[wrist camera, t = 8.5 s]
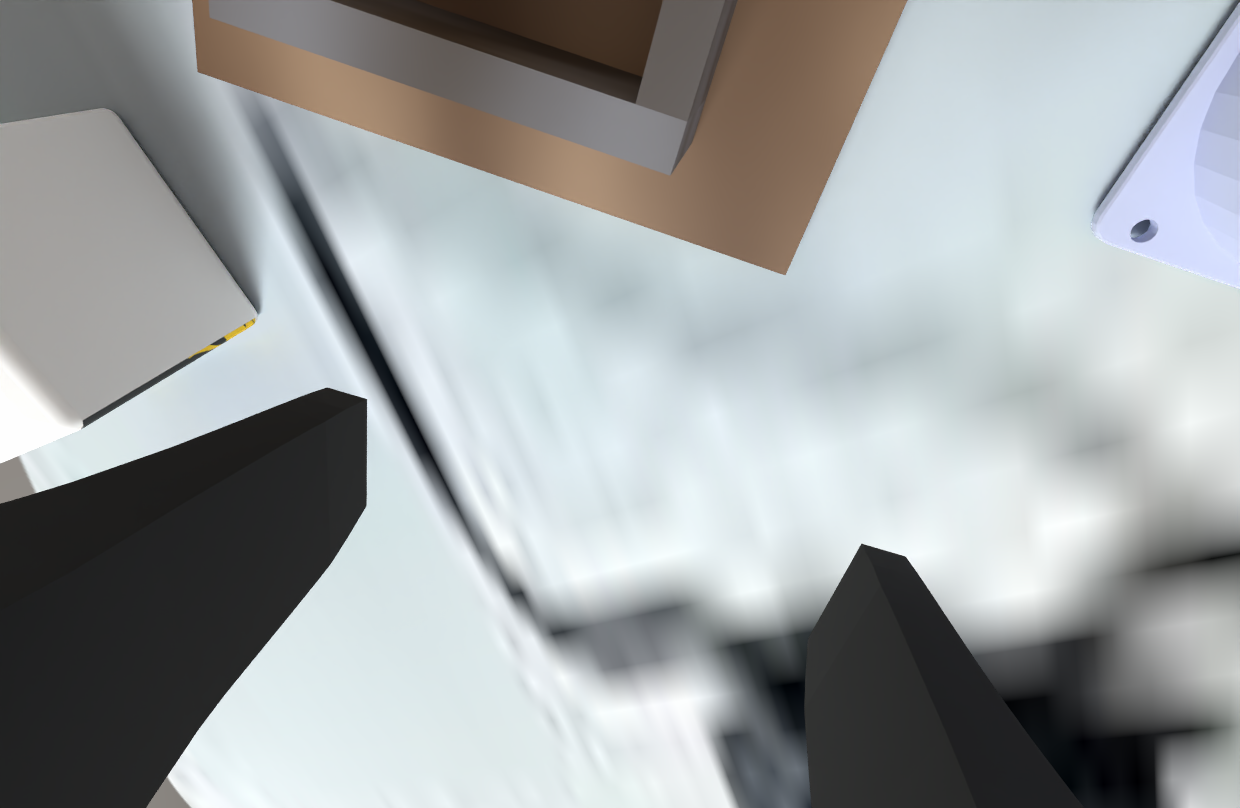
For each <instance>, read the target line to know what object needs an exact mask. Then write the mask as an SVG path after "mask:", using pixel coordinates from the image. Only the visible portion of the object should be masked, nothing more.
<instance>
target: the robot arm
mask: <svg viewBox="0 0 1240 808" xmlns="http://www.w3.org/2000/svg"><path fill="white" fill-rule="evenodd" d="M1145 219H1147V220H1150V226H1149V228H1148V230H1147V231H1146V232H1145V233H1144V234H1143V235H1141V236H1138V237H1136V238H1133V237H1131V235H1130V232H1131V230H1132V228H1133V227H1134V226H1135V225H1136V224H1137V223H1138V222H1140V221H1143V220H1145ZM1091 229H1092V231H1093V233H1094V235H1095V236H1096V237H1097V238H1099V239H1100V240H1102V241H1103V242H1105V243H1106V244H1109V245H1112V246H1115V247H1118V248H1121V249H1124V250H1126V251H1129V252H1132V253H1135V254H1138V255H1141V256H1144V257H1147V258H1150V259H1153V260H1156V261H1159V262H1162V263H1165V264H1168V265H1171V266H1174V267H1177V268H1180V269H1182V270H1185V271H1188V272H1191V273H1194V274H1197V275H1200V276H1203V277H1206V278H1209V279H1212V280H1215V281H1218V282H1221V283H1224V284H1227V285H1230V286H1233V287H1236V288H1238V289H1240V2H1239V3H1238V5H1237V6H1236V8H1235V9H1234V11H1233V12H1232V14H1231V15H1230V17H1229V18H1228V20H1227V21H1226V22H1225V24H1224V25H1223V27H1222V28H1221V30H1220V31H1219V33H1218V34H1217V36H1216V37H1215V39H1214V40H1213V41H1212V43H1211V44H1210V46H1209V47H1208V49H1207V50H1206V52H1205V53H1204V55H1203V56H1202V57H1201V59H1200V60H1199V62H1198V63H1197V65H1196V66H1195V68H1194V69H1193V71H1192V72H1191V74H1190V75H1189V76H1188V78H1187V79H1186V81H1185V82H1184V84H1183V85H1182V87H1181V88H1180V90H1179V91H1178V92H1177V94H1176V95H1175V97H1174V98H1173V100H1172V101H1171V103H1170V104H1169V106H1168V107H1167V109H1166V110H1165V111H1164V113H1163V114H1162V116H1161V117H1160V119H1159V120H1158V122H1157V123H1156V125H1155V126H1154V127H1153V129H1152V130H1151V132H1150V133H1149V135H1148V136H1147V138H1146V139H1145V141H1144V142H1143V144H1142V145H1141V146H1140V148H1139V149H1138V151H1137V152H1136V154H1135V155H1134V157H1133V158H1132V160H1131V161H1130V163H1129V164H1128V165H1127V167H1126V168H1125V170H1124V171H1123V173H1122V174H1121V176H1120V177H1119V179H1118V180H1117V181H1116V183H1115V184H1114V186H1113V187H1112V189H1111V190H1110V192H1109V193H1108V195H1107V196H1106V198H1105V199H1104V200H1103V202H1102V203H1101V205H1100V206H1099V208H1098V209H1097V211H1096V212H1095V214H1094V216H1093V218H1092V221H1091ZM366 499H367V399H365V398H361V397H358V396H354V395H351V394H347V393H344V392H341V391H337V390H334V389H330V388H324V389H321V390H318V391H315V392H312V393H310V394H307V395H304V396H301V397H299V398H296V399H293V400H291V401H288V402H286V403H283V404H281V405H278V406H276V407H273V408H271V409H268V410H265V411H263V412H260V413H258V414H255V415H253V416H250V417H248V418H245V419H243V420H240V421H238V422H235V423H233V424H230V425H228V426H225V427H222V428H220V429H217V430H215V431H212V432H210V433H207V434H205V435H202V436H199V437H197V438H194V439H192V440H189V441H187V442H184V443H181V444H179V445H176V446H174V447H171V448H168V449H165V450H163V451H160V452H157V453H154V454H151V455H148V456H145V457H143V458H140V459H137V460H134V461H131V462H128V463H125V464H123V465H120V466H117V467H114V468H111V469H108V470H105V471H103V472H100V473H97V474H94V475H91V476H88V477H86V478H83V479H80V480H77V481H74V482H71V483H68V484H64V485H61V486H58V487H55V488H52V489H49V490H45V491H42V492H39V493H35V494H32V495H29V496H26V497H22V498H19V499H15V500H12V501H9V502H5V503H1V504H0V808H146V807H147V805H148V804H149V802H150V801H151V799H152V798H153V796H154V795H155V793H156V792H157V790H158V789H159V787H160V786H161V784H162V783H163V781H164V780H165V778H166V777H167V776H168V774H169V773H170V771H171V770H172V768H173V767H174V765H175V764H176V762H177V761H178V759H179V758H180V756H181V755H182V753H183V752H184V750H185V749H186V747H187V746H188V744H189V743H190V741H191V740H192V738H193V737H194V735H195V734H196V732H197V731H198V730H199V728H200V727H201V725H202V724H203V723H204V721H205V720H206V719H207V717H208V716H209V715H210V713H211V712H212V711H213V710H214V708H215V707H216V706H217V704H218V703H219V702H220V700H221V699H222V698H223V696H224V695H225V694H226V693H227V691H228V690H229V689H230V688H231V686H232V685H233V684H234V683H235V681H236V680H237V679H238V678H239V677H240V675H241V674H242V673H243V672H244V670H245V669H246V668H247V667H248V666H249V664H250V663H251V662H252V661H253V659H254V658H255V657H256V656H257V655H258V653H259V652H260V651H261V650H262V648H263V647H264V646H265V645H266V644H267V642H268V641H269V640H270V639H271V637H272V636H273V635H274V634H275V633H276V631H277V630H278V629H279V628H280V626H281V625H282V624H283V623H284V622H285V620H286V619H287V618H288V617H289V615H290V614H291V613H292V612H293V610H294V609H295V608H296V607H297V606H298V604H299V603H300V602H301V601H302V599H303V598H304V597H305V596H306V594H307V593H308V592H309V591H310V589H311V588H312V587H313V586H314V584H315V583H316V582H317V581H318V579H319V578H320V577H321V576H322V574H323V573H324V572H325V570H326V569H327V568H328V567H329V565H330V564H331V563H332V561H333V560H334V558H335V556H336V555H337V553H338V552H339V550H340V549H341V547H342V545H343V544H344V542H345V541H346V539H347V538H348V536H349V534H350V533H351V531H352V529H353V528H354V526H355V524H356V523H357V521H358V519H359V518H360V516H361V514H362V513H363V511H364V509H365V507H366ZM805 725H806V740H807V754H808V767H809V780H810V793H811V805H812V808H1084V807H1083V806H1082V805H1081V804H1080V802H1079V801H1078V800H1077V798H1076V797H1075V796H1074V795H1073V793H1072V792H1071V791H1070V789H1069V788H1068V787H1067V785H1066V784H1065V783H1064V781H1063V780H1062V779H1061V778H1060V776H1059V775H1058V774H1057V772H1056V771H1055V770H1054V768H1053V767H1052V766H1051V764H1050V763H1049V762H1048V761H1047V759H1046V758H1045V757H1044V755H1043V754H1042V753H1041V751H1040V750H1039V749H1038V747H1037V746H1036V745H1035V743H1034V742H1033V741H1032V739H1031V738H1030V737H1029V735H1028V734H1027V733H1026V731H1025V730H1024V728H1023V727H1022V726H1021V724H1020V723H1019V721H1018V720H1017V719H1016V717H1015V716H1014V715H1013V713H1012V712H1011V710H1010V709H1009V708H1008V706H1007V705H1006V703H1005V702H1004V701H1003V699H1002V698H1001V696H1000V695H999V693H998V692H997V691H996V689H995V688H994V686H993V685H992V683H991V682H990V681H989V679H988V678H987V676H986V675H985V673H984V672H983V670H982V669H981V667H980V666H979V665H978V663H977V662H976V660H975V659H974V657H973V656H972V654H971V653H970V651H969V650H968V648H967V647H966V645H965V644H964V642H963V641H962V639H961V638H960V636H959V635H958V633H957V632H956V630H955V629H954V627H953V626H952V624H951V623H950V621H949V620H948V618H947V617H946V615H945V614H944V612H943V611H942V609H941V608H940V606H939V605H938V603H937V602H936V600H935V599H934V597H933V596H932V594H931V593H930V591H929V590H928V588H927V587H926V585H925V584H924V582H923V581H922V579H921V578H920V576H919V575H918V573H917V572H916V571H915V569H914V568H913V566H912V565H911V564H910V562H909V561H908V559H907V558H906V557H905V556H902V555H898V554H895V553H891V552H888V551H885V550H881V549H878V548H874V547H871V546H867V545H864V544H861V546H860V547H859V549H858V551H857V553H856V555H855V556H854V558H853V560H852V562H851V563H850V565H849V567H848V569H847V571H846V572H845V574H844V576H843V578H842V579H841V581H840V583H839V585H838V586H837V588H836V590H835V592H834V594H833V595H832V597H831V599H830V601H829V602H828V604H827V606H826V608H825V610H824V611H823V613H822V615H821V617H820V618H819V620H818V622H817V624H816V626H815V627H814V629H813V631H812V633H811V634H810V636H809V638H808V647H807V663H806V681H805Z"/></svg>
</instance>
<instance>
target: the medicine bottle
mask: <svg viewBox="0 0 1240 808" xmlns="http://www.w3.org/2000/svg"><path fill="white" fill-rule="evenodd" d="M257 319H258V314H257V312H256V310H255V309H254V307H253V306H252V304H251V303H250V301H249V300H248V299H247V297H246V296H245V294H244V293H243V292H242V290H241V289H240V287H239V286H238V285H237V283H236V282H235V280H234V279H233V277H232V276H231V275H230V273H229V272H228V270H227V269H226V268H225V266H224V265H223V263H222V262H221V261H220V259H219V258H218V256H217V255H216V253H215V252H214V251H213V249H212V248H211V246H210V245H209V244H208V242H207V241H206V239H205V238H204V237H203V235H202V234H201V232H200V231H199V229H198V228H197V227H196V225H195V224H194V222H193V221H192V220H191V218H190V217H189V215H188V214H187V213H186V211H185V210H184V208H183V207H182V205H181V204H180V203H179V201H178V200H177V198H176V197H175V196H174V194H173V193H172V191H171V190H170V189H169V187H168V186H167V184H166V183H165V181H164V180H163V179H162V177H161V176H160V174H159V173H158V172H157V170H156V169H155V167H154V166H153V165H152V163H151V162H150V160H149V159H148V157H147V156H146V155H145V153H144V152H143V150H142V149H141V148H140V146H139V145H138V143H137V142H136V141H135V139H134V138H133V136H132V135H131V133H130V132H129V131H128V129H127V128H126V126H125V125H124V124H123V122H122V121H121V119H120V118H119V117H118V116H117V115H116V114H115V113H114V112H113V111H111V110H109V109H105V108H99V109H92V110H86V111H80V112H73V113H67V114H60V115H54V116H47V117H41V118H34V119H28V120H21V121H15V122H8V123H2V124H0V463H2V462H4V461H7V460H9V459H12V458H14V457H16V456H19V455H21V454H24V453H26V452H28V451H31V450H33V449H36V448H38V447H40V446H43V445H45V444H48V443H50V442H52V441H55V440H57V439H59V438H62V437H64V436H67V435H69V434H71V433H74V432H76V431H79V430H81V429H82V428H84V427H86V426H87V425H89V424H91V423H92V422H94V421H96V420H97V419H99V418H101V417H102V416H104V415H106V414H107V413H109V412H110V411H112V410H114V409H115V408H117V407H119V406H120V405H122V404H124V403H125V402H127V401H129V400H130V399H132V398H134V397H135V396H137V395H139V394H140V393H142V392H143V391H145V390H147V389H148V388H150V387H152V386H153V385H155V384H157V383H158V382H160V381H162V380H163V379H165V378H167V377H168V376H170V375H172V374H173V373H175V372H176V371H178V370H180V369H181V368H183V367H185V366H186V365H188V364H190V363H191V362H193V361H195V360H196V359H198V358H200V357H201V356H203V355H204V354H206V353H208V352H209V351H211V350H213V349H214V348H216V347H218V346H219V345H221V344H223V343H224V342H226V341H228V340H229V339H231V338H233V337H234V336H236V335H237V334H239V333H241V332H242V331H244V330H246V329H247V328H249V327H251V326H252V325H253V324H254V323H255V322H256V321H257Z"/></svg>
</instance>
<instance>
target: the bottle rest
mask: <svg viewBox="0 0 1240 808" xmlns="http://www.w3.org/2000/svg"><path fill="white" fill-rule="evenodd" d="M906 2H907V0H192V3H193V16H194V29H195V43H196V56H197V69H198V72H199V73H202V74H205V75H208V76H211V77H214V78H217V79H220V80H223V81H225V82H228V83H231V84H234V85H237V86H240V87H243V88H246V89H249V90H251V91H254V92H257V93H260V94H263V95H266V96H269V97H272V98H275V99H277V100H280V101H283V102H286V103H289V104H292V105H295V106H298V107H301V108H303V109H306V110H309V111H312V112H315V113H318V114H321V115H324V116H327V117H329V118H332V119H335V120H338V121H341V122H344V123H347V124H350V125H353V126H355V127H358V128H361V129H364V130H367V131H370V132H373V133H376V134H379V135H381V136H384V137H387V138H390V139H393V140H396V141H399V142H402V143H404V144H407V145H410V146H413V147H416V148H419V149H422V150H425V151H428V152H430V153H433V154H436V155H439V156H442V157H445V158H448V159H451V160H454V161H456V162H459V163H462V164H465V165H468V166H471V167H474V168H477V169H480V170H482V171H485V172H488V173H491V174H494V175H497V176H500V177H503V178H506V179H508V180H511V181H514V182H517V183H520V184H523V185H526V186H529V187H532V188H534V189H537V190H540V191H543V192H546V193H549V194H552V195H555V196H558V197H560V198H563V199H566V200H569V201H572V202H575V203H578V204H581V205H584V206H586V207H589V208H592V209H595V210H598V211H601V212H604V213H607V214H610V215H612V216H615V217H618V218H621V219H624V220H627V221H630V222H633V223H636V224H638V225H641V226H644V227H647V228H650V229H653V230H656V231H659V232H662V233H664V234H667V235H670V236H673V237H676V238H679V239H682V240H685V241H688V242H690V243H693V244H696V245H699V246H702V247H705V248H708V249H711V250H714V251H716V252H719V253H722V254H725V255H728V256H731V257H734V258H737V259H740V260H742V261H745V262H748V263H751V264H754V265H757V266H760V267H763V268H766V269H768V270H771V271H774V272H777V273H780V274H783V275H786V273H787V270H788V268H789V266H790V264H791V261H792V259H793V257H794V255H795V252H796V250H797V248H798V246H799V243H800V241H801V239H802V237H803V234H804V232H805V230H806V228H807V225H808V223H809V221H810V219H811V216H812V214H813V212H814V210H815V207H816V205H817V203H818V201H819V198H820V196H821V194H822V192H823V189H824V187H825V185H826V183H827V180H828V178H829V176H830V174H831V171H832V169H833V167H834V164H835V162H836V160H837V158H838V155H839V153H840V151H841V149H842V146H843V144H844V142H845V140H846V137H847V135H848V133H849V131H850V128H851V126H852V124H853V122H854V119H855V117H856V115H857V113H858V110H859V108H860V106H861V104H862V101H863V99H864V97H865V95H866V92H867V90H868V88H869V86H870V83H871V81H872V79H873V77H874V74H875V72H876V70H877V68H878V65H879V63H880V61H881V59H882V56H883V54H884V52H885V50H886V47H887V45H888V43H889V41H890V38H891V36H892V34H893V32H894V29H895V27H896V25H897V23H898V20H899V18H900V16H901V13H902V11H903V9H904V7H905V4H906Z"/></svg>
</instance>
